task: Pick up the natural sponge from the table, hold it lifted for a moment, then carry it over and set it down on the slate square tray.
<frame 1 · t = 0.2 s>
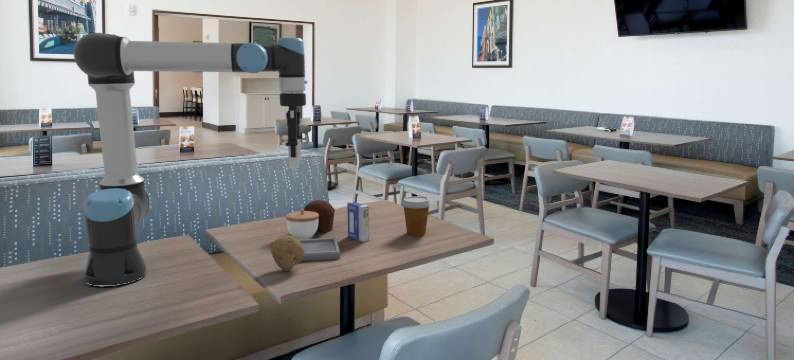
hand: (295, 164, 175), 27 cm above the table, tool pointing down, fingers open, 13 cm apart
lidded jar: (302, 237, 196), on the table, touching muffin
disposable coffee cup: (416, 234, 200), on the table
natural sponge: (289, 270, 165), on the table
slate square tray: (314, 252, 180), on the table
walkman: (358, 239, 194), on the table
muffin: (319, 229, 205), on the table, touching lidded jar
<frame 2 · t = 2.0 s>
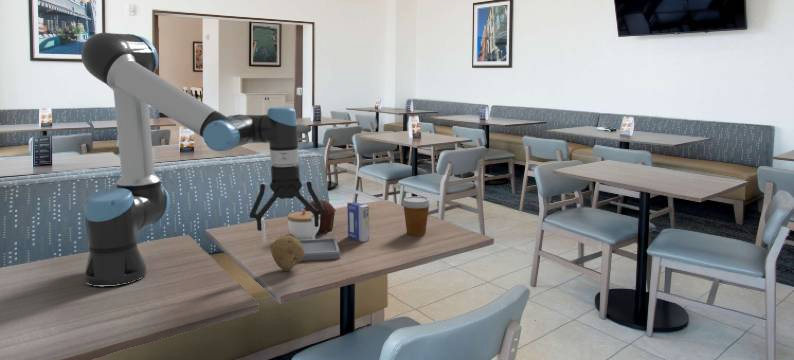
hand: (289, 239, 163), 9 cm above the table, tool pointing down, fingers open, 13 cm apart
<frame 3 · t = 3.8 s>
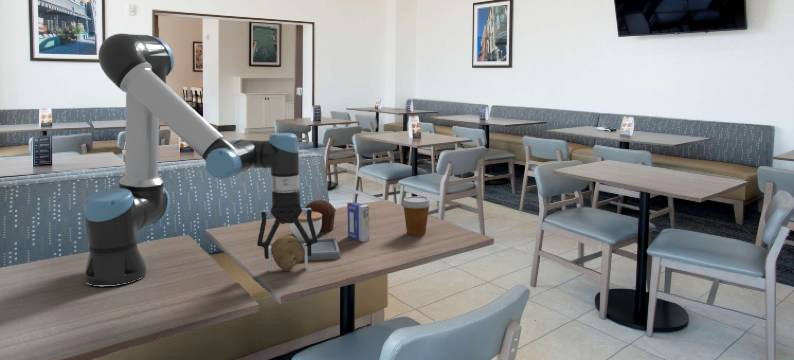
hand: (288, 268, 165), 0 cm above the table, tool pointing down, fingers closed on natural sponge, 9 cm apart
natural sponge: (289, 270, 165), on the table, touching gripper
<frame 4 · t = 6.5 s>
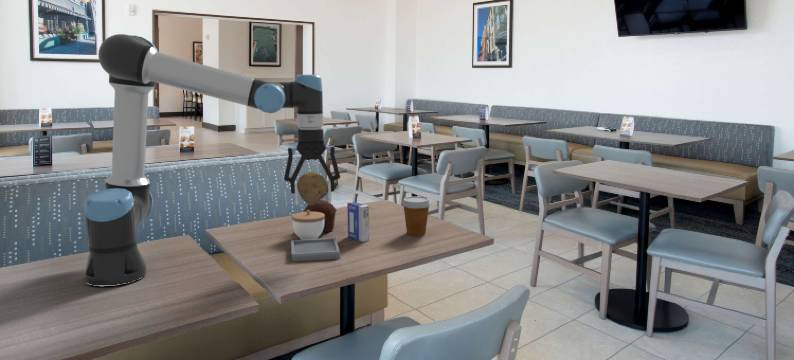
hand: (313, 202, 176), 16 cm above the table, tool pointing down, fingers closed on natural sponge, 9 cm apart
natural sponge: (313, 205, 176), point 15 cm above the table, touching gripper
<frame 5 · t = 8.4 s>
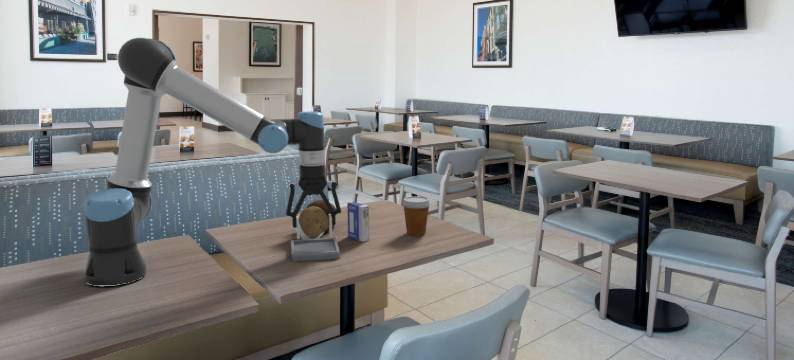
hand: (314, 236, 179), 5 cm above the table, tool pointing down, fingers closed on natural sponge, 9 cm apart
lidded jar: (310, 238, 195), on the table, touching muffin
natural sponge: (315, 238, 179), point 4 cm above the table, touching gripper
everything else where it was.
when the fingers open (3 cm above the table, at t = 9.7 s): natural sponge drops 1 cm, resting on slate square tray.
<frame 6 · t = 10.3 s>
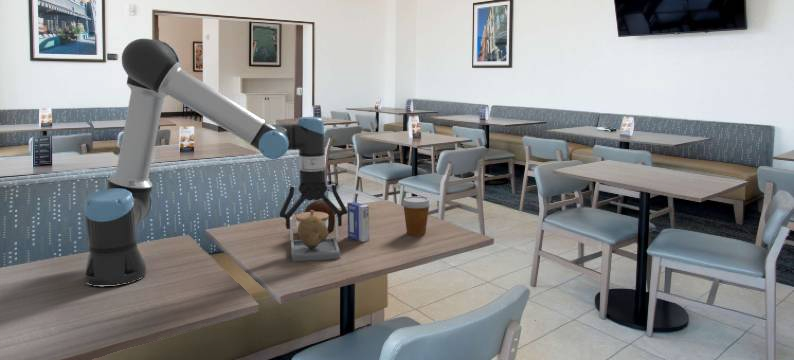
hand: (314, 237, 179), 5 cm above the table, tool pointing down, fingers open, 13 cm apart
natural sponge: (313, 248, 180), point 1 cm above the table, touching slate square tray
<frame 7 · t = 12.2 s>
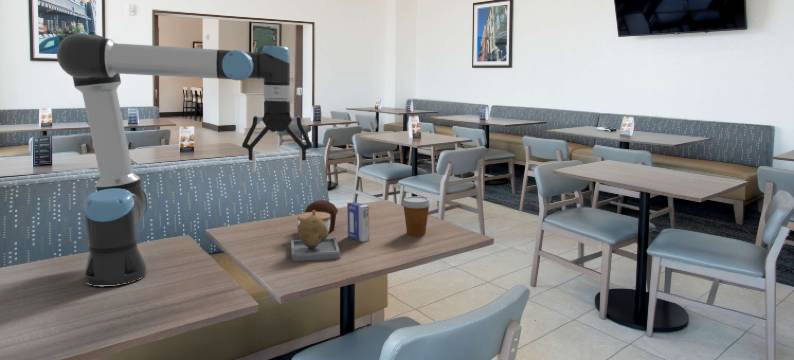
hand: (277, 171, 176), 25 cm above the table, tool pointing down, fingers open, 13 cm apart
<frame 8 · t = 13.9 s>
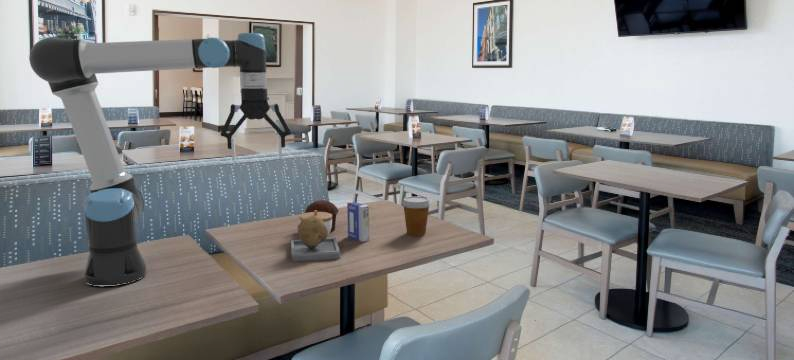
hand: (257, 159, 176), 29 cm above the table, tool pointing down, fingers open, 13 cm apart
lidded jar: (316, 238, 195), on the table, touching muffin
at the end: natural sponge inside the target area on the slate square tray (0.3 cm from its centre), point 1.3 cm above the slate square tray's base; the gripper is holding nothing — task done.
